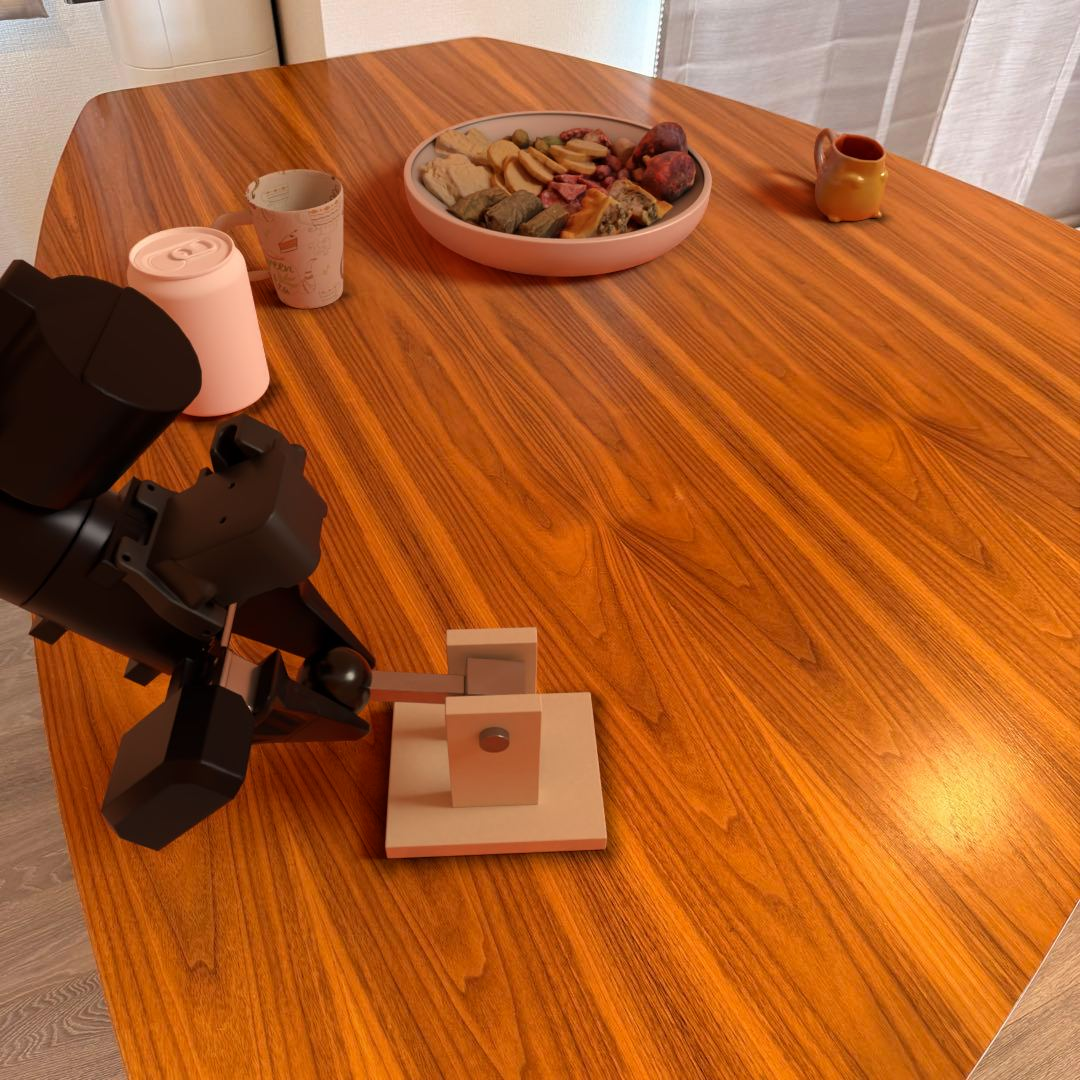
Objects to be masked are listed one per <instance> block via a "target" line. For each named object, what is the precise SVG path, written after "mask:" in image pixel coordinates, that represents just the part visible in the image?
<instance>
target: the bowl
mask: <svg viewBox="0 0 1080 1080" xmlns="http://www.w3.org/2000/svg"><path fill="white" fill-rule="evenodd" d="M712 180H713V179H712V174H711V170H710V168H709V165H708V164H707V162H706V161H705V159H704V158H703V157H702V155H700V153H698V151H697V150H696V149H694V148H693V147H692V146H691V145H689V144H688V137H687V134H686V131H685V130H684V128H683V127H682V126H681V125H680V124H678V123H677V122H674V121H662V122H660V123H657V124H656V125H654V126H652V125H648V124H645V123H642V122H639V121H635V120H632V119H628V118H625V117H624V118H623V117H618V116H613V115H607V114H602V113H595V112H588V111H587V112H586V111H576V110H557V109H554V110H550V109H549V110H545V109H544V110H543V109H541V110H521V111H512V112H504V113H503V112H502V113H497V114H491V115H487V116H481V117H477V118H473V119H469V120H465V121H463V122H460V123H456V124H453V125H452V126H448V127H446V128H444V129H441V130H439V131H437V132H436V133H434V134H432V135H430V136H429V137H427V138H426V139H424V140H423V141H422V142H419V144H418V145H417V146H416V147H415V148H414V149H413V150H411V153H410V154H409V155H408V157H407V159H406V160H405V163H404V167H403V183H404V191H405V196H406V200H407V203H408V206H409V207H410V210H411V212H412V213H413V216H414V217H415V218H416V220H417V221H418V223H419V224H420V225H421V226H422V228H423V229H424V230H425V231H426V232H427V233H428V234H429V235H430V236H431V237H432V238H433V239H435V241H437V242H438V243H439V244H440V245H442V246H444V247H445V248H447V249H448V250H450V251H452V252H454V253H455V254H457V255H460V257H461V256H462V257H463V258H466V259H468V260H469V261H473V262H475V263H478V264H481V265H484V266H487V267H490V268H494V269H497V270H502V271H507V272H511V273H516V274H522V275H523V274H524V275H530V276H540V277H557V278H558V277H562V278H563V277H564V278H566V277H567V278H568V277H586V276H595V275H603V274H609V273H613V272H618V271H623V270H626V269H631V268H634V267H637V266H640V265H642V264H645V263H648V262H650V261H653V260H655V259H657V258H659V257H661V256H663V255H665V254H666V253H668V252H670V251H671V250H673V249H674V248H675V247H677V246H678V245H680V244H681V243H683V241H684V240H686V239H687V238H688V236H690V235H691V234H692V232H693V231H694V230H695V229H696V228H697V226H698V225H699V223H700V222H701V220H702V219H703V217H704V215H705V213H706V211H707V208H708V205H709V202H710V196H711V193H712V192H711V190H712V185H713V183H712V182H713V181H712Z"/></svg>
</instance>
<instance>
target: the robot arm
mask: <svg viewBox="0 0 1080 1080" xmlns="http://www.w3.org/2000/svg"><path fill="white" fill-rule="evenodd" d="M5 269H6V270H5V271H4V272H3V273H2V275H1V276H0V599H1V600H3V601H5V602H7V603H10V604H12V605H14V606H16V607H18V608H20V609H22V610H24V611H26V612H29V613H30V614H32V615H35V617H34V619H33V622H32V624H31V627H30V628H29V631H28V633H27V634H28V636H30V637H33V638H34V639H37V640H39V641H42V642H44V643H46V644H48V645H50V646H53V645H54V644H55V643H57V641H58V640H60V639H61V638H62V636H64V635H65V634H66V633H67V632H68V631H70V632H72V633H74V634H76V635H77V636H81V637H83V638H85V639H87V640H89V641H91V642H93V643H95V644H98V645H99V646H102V647H105V648H107V649H108V650H110V651H113V652H115V653H117V654H120V655H122V656H124V657H126V658H128V661H127V663H126V667H125V669H124V673H123V676H122V677H123V678H124V679H126V680H128V681H130V682H133V683H135V684H137V685H140V686H142V687H144V688H146V687H147V686H148V685H149V684H151V682H152V681H154V680H155V679H157V678H158V676H159V675H161V674H164V675H167V676H168V677H169V676H170V680H169V683H168V685H167V686H168V687H167V690H166V694H165V697H164V700H163V702H162V703H160V704H159V705H157V706H156V707H155V708H154V709H152V711H150V712H149V713H148V714H147V715H145V716H144V717H143V718H142V719H140V720H139V721H138V722H137V723H136V724H134V725H133V726H132V727H131V728H130V729H129V730H127V731H126V732H125V733H124V734H123V735H122V737H121V740H120V743H119V746H118V751H117V753H116V757H115V760H114V763H113V766H112V770H111V773H110V777H109V780H108V783H107V787H106V789H105V794H104V797H103V800H102V804H101V806H100V814H101V815H102V817H103V819H104V820H105V822H106V825H108V827H109V829H110V830H111V831H112V832H113V833H114V834H115V835H116V836H117V837H118V838H119V839H121V840H123V841H127V842H130V843H132V844H135V845H139V846H140V847H144V848H147V849H150V850H152V851H155V852H160V851H161V850H163V849H164V848H165V847H167V846H168V845H170V844H171V843H173V842H174V841H175V840H177V839H179V838H180V837H181V836H183V835H184V834H186V833H187V832H188V831H190V830H191V829H192V828H194V827H196V826H197V825H199V824H200V823H202V822H203V821H204V820H206V819H207V818H209V817H210V816H211V815H213V814H214V813H216V812H217V811H219V810H220V809H222V808H223V807H225V806H226V805H227V804H229V803H230V802H232V801H234V799H235V798H236V796H237V794H238V792H239V791H240V790H241V787H242V786H243V784H244V782H245V781H246V778H247V772H248V766H249V761H250V757H251V756H250V755H251V751H252V746H256V745H266V744H282V743H283V744H287V743H289V744H290V743H291V744H292V743H325V742H327V743H328V742H355V741H359V740H361V739H362V738H364V737H365V736H367V735H368V734H370V732H371V724H370V723H369V722H368V721H367V720H366V719H364V718H362V717H361V716H359V714H355V713H354V712H352V711H351V710H349V709H347V708H345V707H344V706H342V705H340V704H338V703H336V702H334V701H332V700H330V699H328V698H327V697H325V696H323V695H321V694H319V693H317V692H315V691H313V690H311V689H309V688H308V687H306V686H304V685H302V684H300V683H298V682H296V680H294V679H293V678H291V677H290V675H289V674H288V671H287V667H286V665H285V661H284V657H283V655H282V652H285V653H288V654H291V655H294V656H297V657H300V658H302V659H304V660H305V659H306V658H307V657H308V656H309V655H310V654H311V653H313V652H314V651H316V650H318V649H320V648H322V647H325V646H331V645H340V646H346V647H349V648H351V649H353V650H355V651H357V652H358V653H359V654H361V655H362V656H363V657H364V658H365V660H366V661H367V662H368V664H369V666H370V668H371V670H374V669H375V668H376V664H377V663H376V662H377V660H376V657H374V655H373V654H372V653H371V652H370V650H368V649H367V647H366V646H365V645H364V644H363V642H362V641H360V639H359V638H358V637H357V636H356V635H355V634H354V632H353V631H352V630H351V629H350V628H349V627H348V626H347V624H346V622H344V621H343V620H342V618H340V616H339V615H338V614H337V612H336V611H334V609H333V608H332V606H330V604H328V602H327V601H326V600H325V599H324V597H323V596H322V594H320V592H319V591H318V589H317V588H316V587H315V585H314V584H313V582H312V581H311V580H310V578H311V576H313V574H314V573H315V571H317V569H318V566H319V564H320V561H321V557H322V548H321V545H320V544H321V543H320V542H321V536H322V528H323V523H324V519H326V518H327V516H328V512H329V511H328V510H329V509H328V508H329V507H328V503H327V502H326V501H325V500H324V498H323V497H322V495H320V493H319V492H318V490H316V489H315V488H314V486H313V485H312V484H311V482H310V481H309V480H308V478H306V476H305V475H304V472H305V468H306V462H307V456H308V452H307V450H306V448H305V447H304V446H303V445H302V444H299V443H290V441H289V440H288V439H287V438H286V435H284V434H283V433H282V432H281V431H279V430H278V429H275V428H274V427H272V426H269V425H268V424H266V423H264V422H262V421H260V420H258V419H257V418H254V417H253V416H250V415H249V414H247V413H245V412H242V413H240V414H238V415H236V416H235V415H234V416H233V417H231V418H228V419H226V420H223V421H221V422H219V423H218V424H217V425H216V427H215V431H214V434H213V438H212V440H211V444H210V447H209V459H210V462H211V467H212V469H211V468H210V467H209V466H205V467H202V468H200V469H199V473H198V476H197V479H196V482H195V483H194V484H193V485H192V486H191V487H188V488H186V489H184V490H182V491H180V492H178V491H175V490H171V489H168V488H166V487H164V486H162V485H160V484H159V483H157V482H155V481H153V480H151V479H144V480H142V479H139V478H138V477H136V476H134V475H133V476H132V477H131V478H130V479H129V480H128V481H127V482H126V483H125V484H124V485H123V486H122V487H121V489H119V491H116V490H114V489H113V488H112V487H114V485H115V484H116V483H117V482H118V481H119V480H120V479H121V478H122V477H123V476H124V475H125V474H126V472H127V471H128V470H130V468H131V467H132V466H133V465H134V464H135V463H136V462H137V461H138V460H139V459H140V458H141V457H142V456H143V455H144V454H145V453H146V451H147V450H148V449H149V448H150V447H151V446H152V445H153V444H154V443H155V442H156V441H157V440H158V438H160V437H161V436H162V434H163V433H164V432H165V431H166V430H167V429H168V428H169V427H170V426H171V425H172V424H173V423H174V422H175V421H176V420H177V419H178V417H180V416H181V415H182V412H183V411H184V410H185V409H186V408H187V407H188V406H189V405H190V404H191V403H192V401H193V400H194V399H195V398H196V397H197V395H198V394H199V392H200V390H201V386H202V370H201V366H200V363H199V359H198V356H197V354H196V352H195V350H194V348H193V346H192V344H191V342H190V340H189V339H188V338H187V336H186V335H185V334H184V332H183V331H182V329H181V328H180V327H179V325H178V324H177V323H176V322H175V321H174V320H173V319H172V318H171V317H170V316H169V315H168V314H167V313H166V312H165V311H164V310H163V309H162V308H160V307H159V306H158V305H157V304H155V303H154V302H153V301H152V300H150V299H149V298H148V297H147V296H145V295H143V294H142V293H140V292H139V291H137V290H136V289H134V288H132V287H129V286H125V287H122V286H119V285H117V284H115V283H114V282H110V281H108V280H105V279H101V278H97V277H95V276H90V275H81V274H68V275H61V276H56V277H54V278H52V277H50V276H49V275H47V274H46V273H44V272H42V271H41V270H39V269H38V268H36V267H35V266H34V265H32V264H31V263H29V262H27V261H26V260H24V259H22V258H21V259H19V258H18V259H13V260H12V261H11V262H10V264H9V265H8V266H7V268H5ZM212 470H213V471H212ZM232 634H233V635H237V636H238V637H239V636H240V637H242V638H245V639H248V640H250V641H253V642H256V643H260V644H263V645H264V646H268V647H271V648H274V650H273V651H272V652H271V653H270V654H268V655H267V656H266V657H264V658H263V659H262V660H260V661H259V662H258V663H255V662H253V661H251V660H249V659H247V658H245V657H244V656H241V655H239V654H237V653H235V652H234V650H233V649H231V648H229V647H230V643H231V638H232ZM281 651H282V652H281Z"/></svg>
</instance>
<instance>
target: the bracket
mask: <svg viewBox="0 0 1080 1080" xmlns="http://www.w3.org/2000/svg"><path fill="white" fill-rule="evenodd" d="M537 630H538V629H537V627H536V626H527V627H526V626H525V627H523V626H522V627H495V628H493V627H491V628H488V627H487V628H460V629H457V628H456V629H446V631H445V651H446V665H447V674H449V675H464V671H465V665H466V659H467V658H468V657H470V658H488V659H505V660H523V661H524V667H525V685H526V694H515V695H485V696H455V697H445V704H425V703H405V702H393V709H392V711H393V712H392V728H391V745H390V759H389V760H390V761H389V774H388V775H389V776H388V790H387V791H388V792H387V805H386V806H387V808H386V821H385V822H386V823H385V837H384V839H385V841H384V849H385V854H386V858H387V859H404V858H406V859H407V858H431V857H452V856H454V857H455V856H477V855H479V856H481V855H501V854H522V853H523V854H524V853H525V854H526V853H527V854H528V853H546V852H547V853H548V852H572V851H596V850H597V851H598V850H606V847H607V840H608V835H607V834H608V833H607V825H606V824H607V823H606V815H605V805H604V799H603V790H602V781H601V780H602V779H601V771H600V764H599V755H598V747H597V738H596V730H595V729H596V728H595V721H594V711H593V703H592V695H591V692H590V691H583V692H582V691H581V692H580V691H579V692H578V691H577V692H554V693H553V692H552V693H548V692H547V693H537V678H538V677H537V676H538V674H537V673H538V672H537V671H538V631H537Z"/></svg>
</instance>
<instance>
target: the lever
mask: <svg viewBox="0 0 1080 1080" xmlns="http://www.w3.org/2000/svg"><path fill="white" fill-rule="evenodd" d="M295 681H296V682H298V683H300V684H302V685H304V686H306V687H308V688H309V689H311V690H313V691H315V692H317V693H319V694H321V695H323V696H325V697H327V698H328V699H330V700H332V701H334V702H336V703H338V704H340V705H342V706H344V707H345V708H347V709H349V710H351V711H352V712H354V713H355V714H357V715H359V714H360V713H361V712H362V711H363V710H364V709H365V708H366V706H367V705H368V703H369V702H386V703H388V702H389V703H394V702H405V703H425V704H445V697H455V696H485V695H515V694H526V685H525V667H524V661H523V660H505V659H488V658H470V657H468V658H467V659H466V665H465V671H464V675H449V674H448V673H447V674H446V673H430V672H429V673H427V672H411V671H409V672H408V671H392V670H391V671H390V670H387V671H386V670H374V669H372V670H371V668H370V666H369V664H368V662H367V661H366V660H365V658H364V657H363V656H362V655H361V654H359V653H358V652H357V651H355V650H353V649H351V648H349V647H346V646H340V645H331V646H325V647H322V648H320V649H318V650H316V651H314V652H313V653H311V654H310V655H309V656H308V657H307V658H306V659H305V658H304V660H303V661H302V662H301V664H300V666H299V668H298V669H297V672H296V675H295Z"/></svg>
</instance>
